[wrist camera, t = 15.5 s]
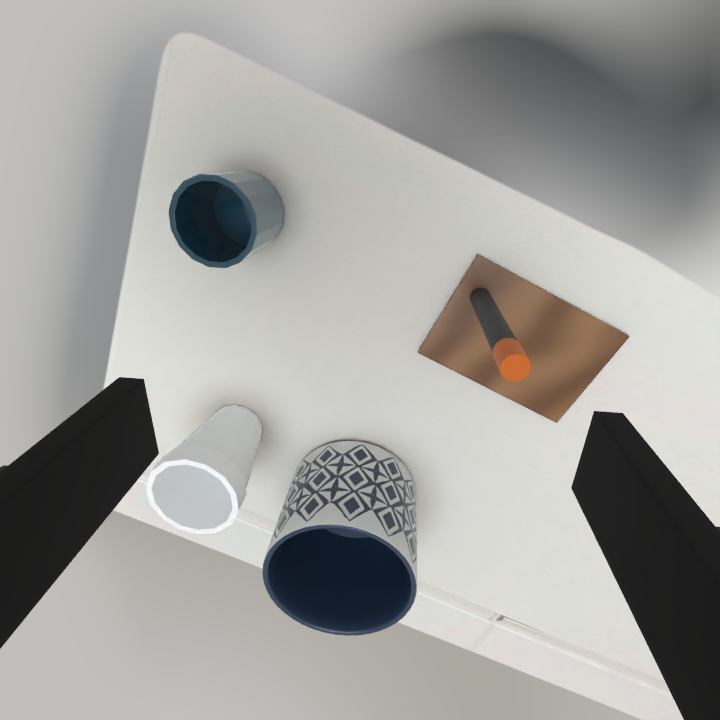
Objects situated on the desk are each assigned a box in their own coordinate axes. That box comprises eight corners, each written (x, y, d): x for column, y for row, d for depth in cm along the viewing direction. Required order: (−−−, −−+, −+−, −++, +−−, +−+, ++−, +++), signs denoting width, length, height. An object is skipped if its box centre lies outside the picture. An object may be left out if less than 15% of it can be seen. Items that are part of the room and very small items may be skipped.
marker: (471, 286, 45) (502, 352, 30) (492, 287, 45) (534, 355, 30) (468, 306, 46) (497, 380, 31) (488, 307, 46) (528, 383, 31)
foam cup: (258, 468, 59) (220, 546, 47) (192, 438, 58) (136, 510, 46) (285, 414, 55) (251, 485, 43) (215, 381, 54) (160, 444, 42)
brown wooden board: (417, 351, 49) (417, 352, 49) (477, 253, 45) (478, 254, 44) (555, 420, 51) (556, 423, 51) (627, 334, 46) (629, 336, 46)
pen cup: (209, 169, 44) (163, 172, 36) (283, 173, 43) (253, 176, 35) (216, 246, 47) (175, 264, 39) (285, 250, 46) (258, 270, 38)
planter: (349, 551, 63) (334, 654, 50) (269, 479, 59) (230, 570, 46) (440, 499, 58) (450, 598, 45) (359, 415, 54) (343, 498, 41)
